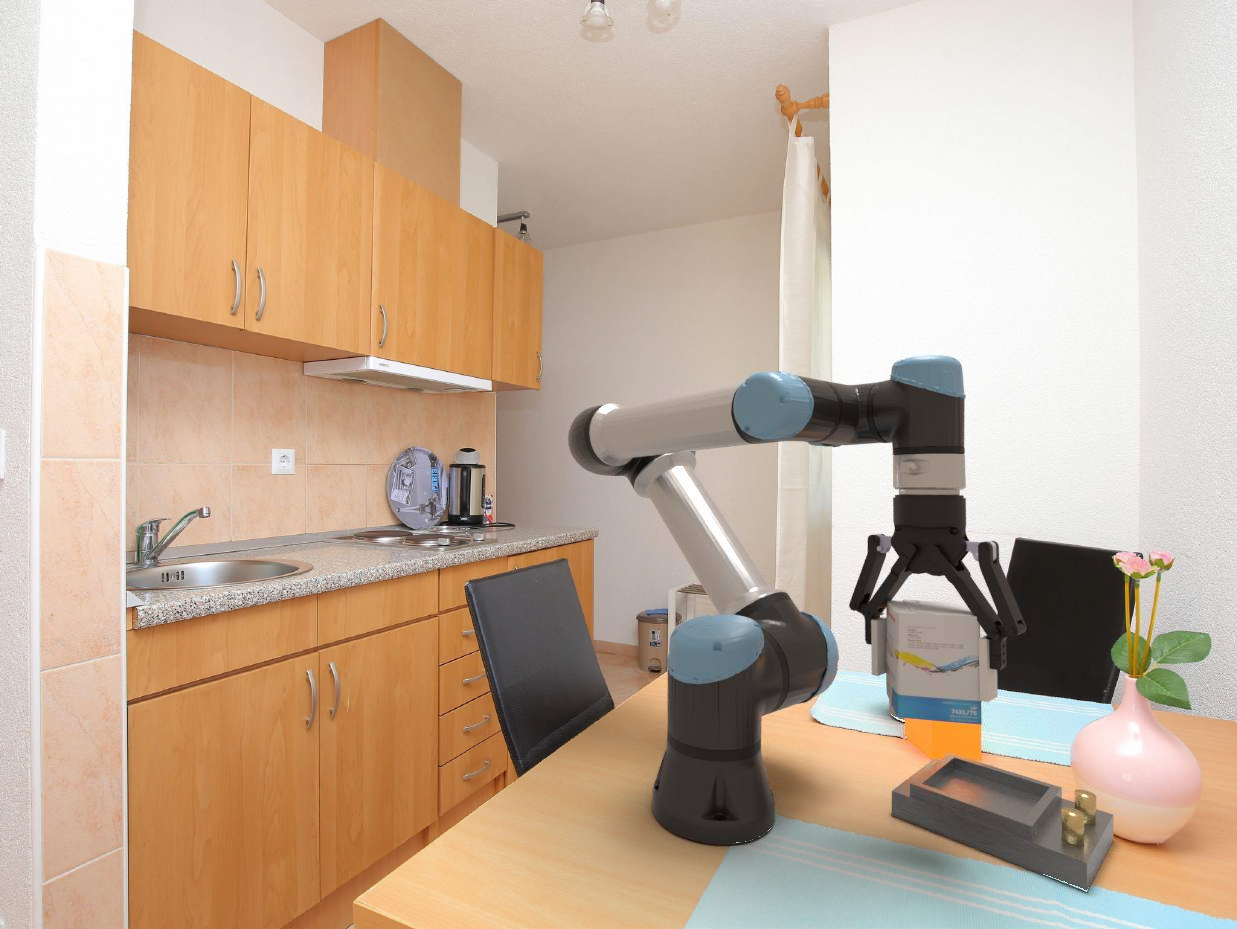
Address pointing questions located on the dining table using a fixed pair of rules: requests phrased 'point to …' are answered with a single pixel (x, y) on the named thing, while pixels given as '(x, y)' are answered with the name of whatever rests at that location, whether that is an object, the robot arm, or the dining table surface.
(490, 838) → the dining table surface
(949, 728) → the orange juice
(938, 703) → the ink box
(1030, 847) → the grey tray with knobs
